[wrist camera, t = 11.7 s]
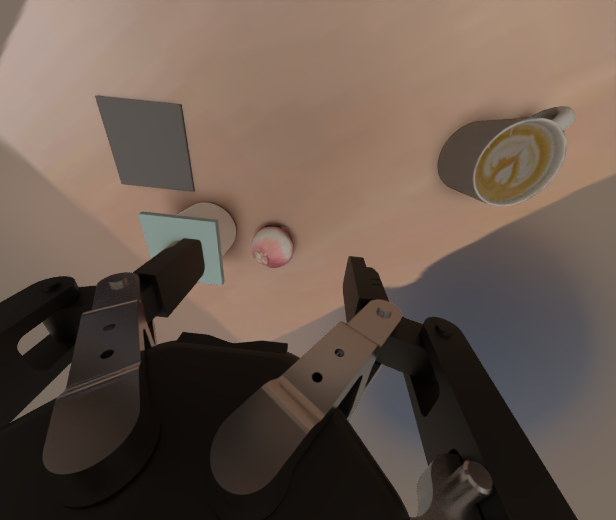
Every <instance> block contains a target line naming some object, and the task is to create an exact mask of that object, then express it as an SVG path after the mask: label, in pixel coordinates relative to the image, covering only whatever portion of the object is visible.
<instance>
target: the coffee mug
mask: <svg viewBox="0 0 616 520" xmlns="http://www.w3.org/2000/svg"><path fill="white" fill-rule="evenodd" d="M574 120H575V112H574V110H573V109H572V108H570V107H563V106H561V107H554V108H550V109H547V110H543V111H541V112H539V113H537V114H535V115H533V116H531V117H529V118H519V119H504V120H489V121H477V122H473V123H470V124H468V125H466V126H464V127H462V128H460V129H459V130H457V131H456V132H455V133H454V134H453V135H452V136H451V137H450V138H449V139H448V141H447V142H446V143H445V145H444V146H443V148H442V150H441V153H440V156H439V160H438V173H439V176H440V178H441V180H442V181H443V183H444V184H446V185H447V186H448V187H450V188H452V189H455V190H457V191H459V192H461V193H464V194H466V195H468V196H470V197H473V198H475V199H477V200H479V201H482V202H484V203H486V204H489V205H493V206H510V205H515V204H518V203H521V202H523V201H526V200H527V199H529V198H531V197H533V196H534V195H536V194H537V193H538V192H540V191H541V190H542V189H544V188H545V187H546V186H547V185H548V184H549V183H550V182H551V180H552V179H553V178H554V177H555V175H556V174H557V172H558V171H559V169H560V167H561V165H562V163H563V160H564V158H565V155H566V147H567V142H566V136H565V134H564V130H566V129H567V128H568V127H569V126H570V125H571V124H572V123H573V122H574Z"/></svg>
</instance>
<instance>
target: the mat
mask: <svg viewBox="0 0 616 520" xmlns="http://www.w3.org/2000/svg"><path fill="white" fill-rule="evenodd" d="M95 98H96V101H97V104H98V107H99V111H100V114H101V117H102V121H103V124H104V127H105V130H106V134H107V137H108V140H109V144H110V147H111V150H112V153H113V157H114V160H115V163H116V167H117V170H118V173H119V177H120V180H121V183H122V184H126V185H136V186H145V187H155V188H164V189H173V190H183V191H192V192H194V191H195V190H194V183H193V177H192V170H191V164H190V157H189V151H188V144H187V138H186V131H185V124H184V118H183V111H182V105H180V104H171V103H161V102H151V101H142V100H132V99H123V98H113V97H104V96H95Z"/></svg>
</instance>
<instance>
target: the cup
mask: <svg viewBox="0 0 616 520" xmlns="http://www.w3.org/2000/svg"><path fill="white" fill-rule="evenodd" d="M176 215H178V216H187V217H196V218H205V219H214V220H218V225H219V235H220V244H221V253H222V257H223V256H224V254H225V253H226V252H227V251H228V249H229V248H230V247H231V246H232V244H233V243H234V241H235V238H236V227H235V223H234V221H233V219H232V218H231V216H230V215H229V214H228V213H227V212H226V211H225V210H224V209H223V208H221V207H219V206H217V205H215V204H212V203H205V202H203V203H197V204H194V205H192V206H190V207H189V208H187V209H185V210H183V211H181V212H180V213H178V214H176Z"/></svg>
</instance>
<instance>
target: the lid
mask: <svg viewBox="0 0 616 520" xmlns="http://www.w3.org/2000/svg"><path fill="white" fill-rule="evenodd" d="M138 216H139V219H140V223H141V226H142V230H143V233H144V237H145V240H146V244H147V247H148V251H149V254H150V258H151V259H152V258H153V257H154V256H156V255H157V254H158V253H160V252H161V251H163V250H164V249H167V248H169V247H172V246H174V245H175V244H177V243H178V242H179V241H181V240H182V239H183V238H188V239H197V240H200V241H201V244H202V250H203V256H204V263H205V270H204V274H203V276H202V277H201V278H200V279H199V281H198V282H197V283H206V284H215V285H223V283H224V272H223V263H222V253H221V244H220V235H219V225H218V220H214V219H205V218H196V217H187V216H178V215H169V214H160V213H151V212H141V213H139V214H138ZM151 259H150V260H151Z"/></svg>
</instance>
